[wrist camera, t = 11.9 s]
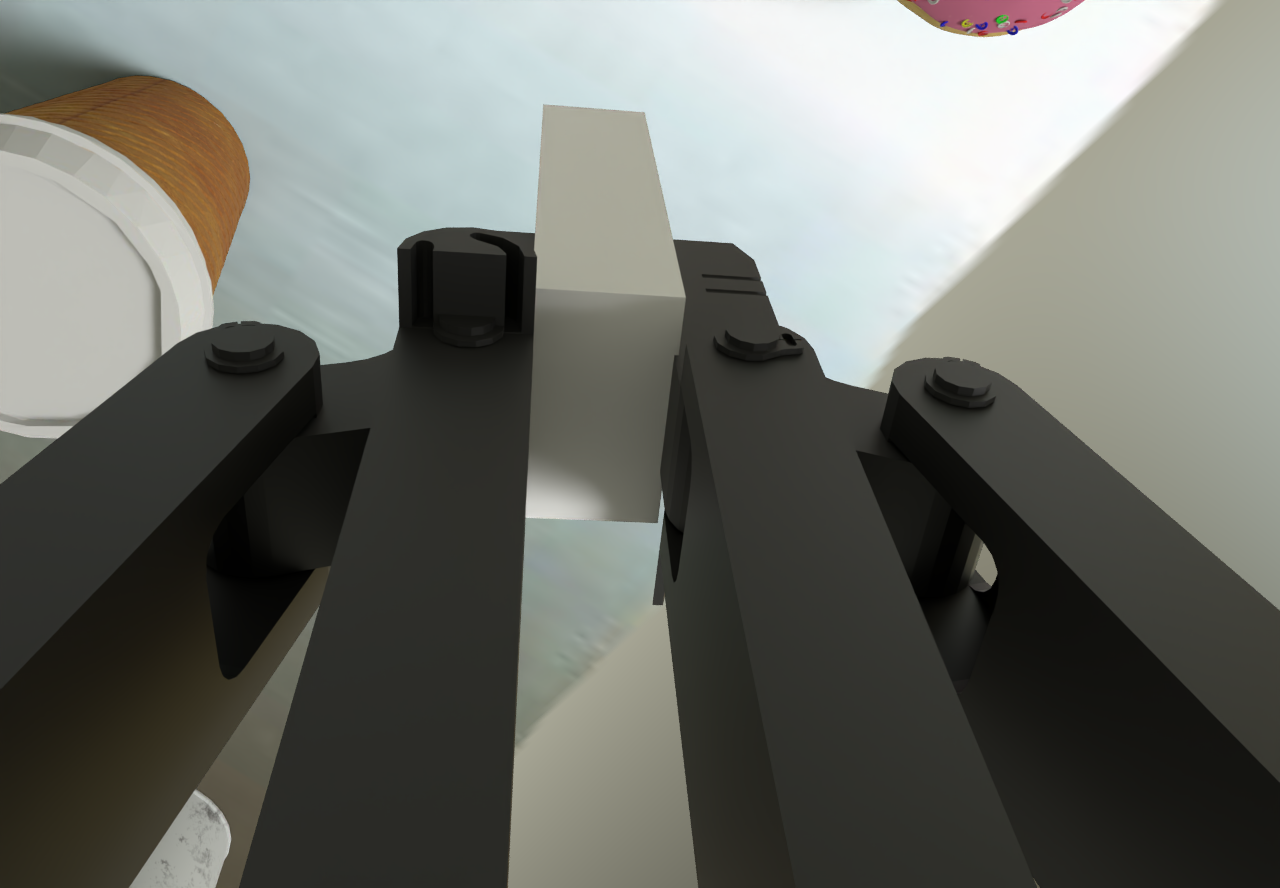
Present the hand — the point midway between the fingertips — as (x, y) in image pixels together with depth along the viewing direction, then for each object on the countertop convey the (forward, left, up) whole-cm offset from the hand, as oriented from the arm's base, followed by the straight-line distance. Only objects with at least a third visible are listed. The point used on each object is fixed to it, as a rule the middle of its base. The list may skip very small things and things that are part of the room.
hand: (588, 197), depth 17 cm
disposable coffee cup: (-15, -8, -24) cm, 29 cm away
